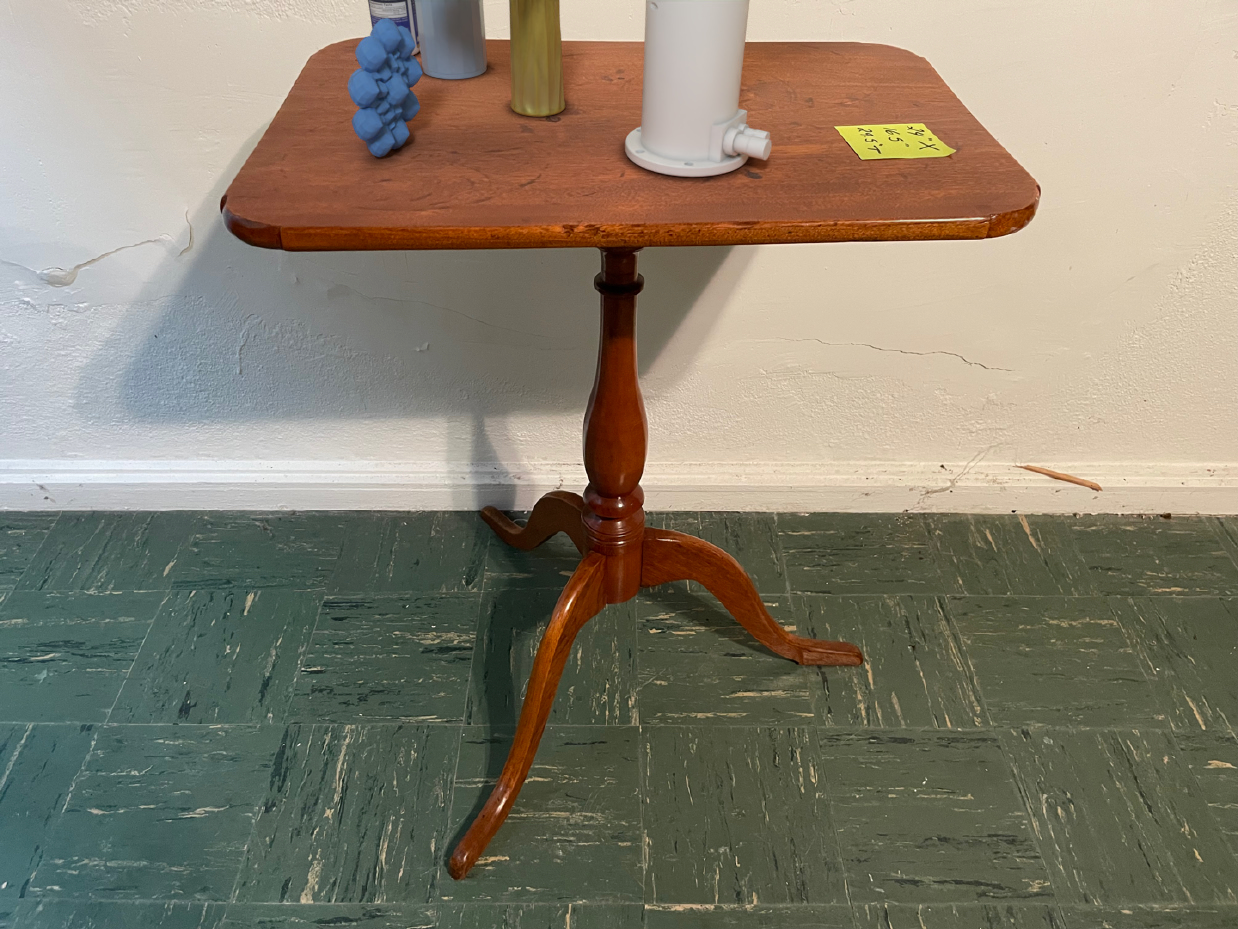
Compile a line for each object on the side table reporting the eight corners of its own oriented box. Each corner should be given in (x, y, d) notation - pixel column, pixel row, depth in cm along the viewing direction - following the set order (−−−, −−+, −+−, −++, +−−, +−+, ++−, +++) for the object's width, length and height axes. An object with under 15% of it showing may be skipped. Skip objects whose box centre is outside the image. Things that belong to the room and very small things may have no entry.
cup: (499, 66, 114) (495, -14, 108) (459, 83, 109) (452, 0, 103) (450, 54, 117) (443, -24, 111) (409, 71, 112) (399, -11, 106)
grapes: (386, 122, 99) (368, 1, 91) (443, 131, 97) (430, 8, 90) (326, 163, 90) (301, 33, 83) (388, 173, 89) (368, 42, 81)
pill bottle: (393, 42, 120) (382, -44, 114) (430, 49, 118) (421, -38, 112) (366, 54, 116) (353, -34, 110) (403, 61, 114) (392, -28, 108)
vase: (529, 121, 100) (523, -24, 91) (500, 104, 104) (492, -37, 95) (575, 110, 103) (575, -32, 94) (546, 94, 107) (542, -44, 97)
